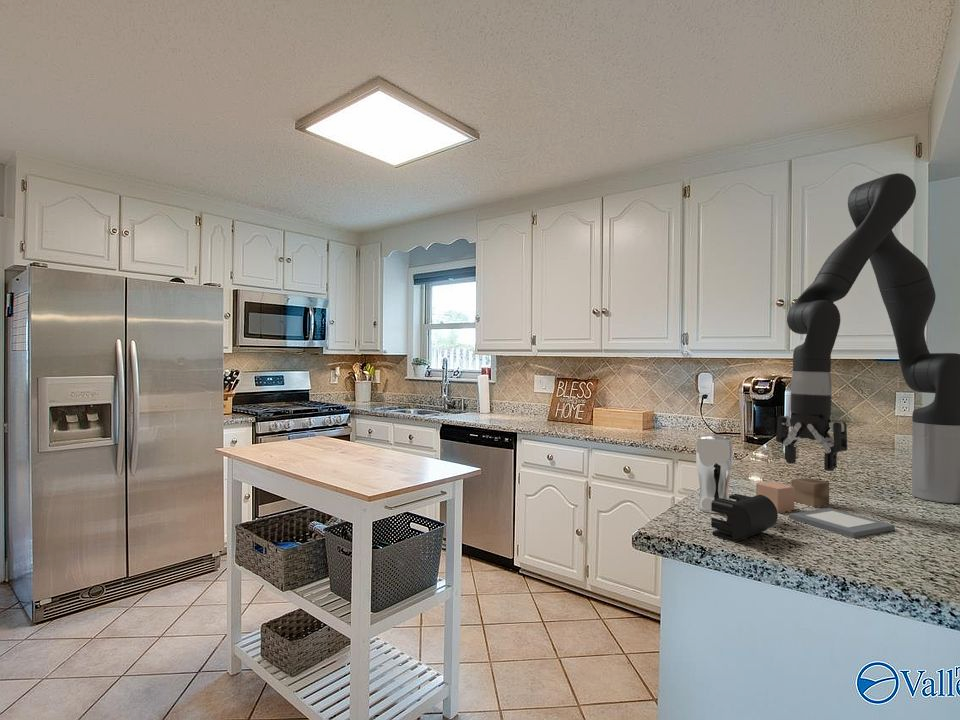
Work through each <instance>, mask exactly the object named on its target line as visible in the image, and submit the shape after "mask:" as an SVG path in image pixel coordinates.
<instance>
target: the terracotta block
mask: <svg viewBox="0 0 960 720" xmlns="http://www.w3.org/2000/svg"><path fill="white" fill-rule="evenodd" d="M755 485H756V486H755V496H757V495H763V496H765V497H767V498H769V499H770V500H771V501H772V502H773V503H774V505H775V507H776V509H777V512H782V513H786V512H785V511H788V512H792V511H791V510H794V511H795V503H794V496H795V487H793V486H791V485H787V484H783V483H779V482H775V481H769V482H768V481H766V482H759V483H756V484H755Z"/></svg>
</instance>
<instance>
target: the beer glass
mask: <svg viewBox="0 0 960 720" xmlns="http://www.w3.org/2000/svg"><path fill="white" fill-rule="evenodd" d="M696 440H697V441H696V447H695V448H696V450H695V464H696V472H697V476H698V483H699V490H700V491H699V499H698V503H697V508H698V510H699V511H702V512H705V513H710V514H716V515H717V514H718V515H721V514H722V513H718V512H714V511H711V503H712V501H713V500H715V499H719V498H723V499H727V500H729V487H730V482H731V478H732V471H733V463H734V462H733V460H734V459H733V458H734V456H733V443H732V442H733V439H732V438H731V437H729V436H723V435H713V434H711V435H710V434H709V435H707V434H705V435H704V434H703V435H698V436H697V439H696Z"/></svg>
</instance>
